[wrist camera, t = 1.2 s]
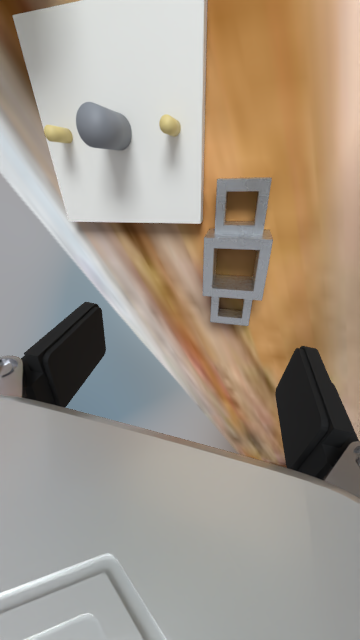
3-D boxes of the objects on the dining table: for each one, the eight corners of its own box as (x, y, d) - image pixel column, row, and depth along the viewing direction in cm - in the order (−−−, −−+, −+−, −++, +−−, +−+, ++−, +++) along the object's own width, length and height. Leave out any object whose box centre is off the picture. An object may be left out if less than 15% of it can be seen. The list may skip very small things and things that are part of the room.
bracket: (211, 178, 24) (205, 180, 20) (278, 176, 22) (284, 179, 19) (206, 313, 32) (201, 329, 29) (254, 318, 31) (255, 336, 28)
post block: (207, -13, 17) (191, -82, 12) (202, 220, 26) (192, 233, 21) (26, 23, 21) (-43, -20, 16) (76, 219, 29) (42, 230, 24)
